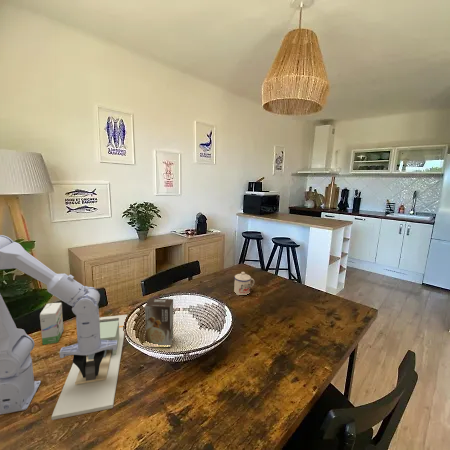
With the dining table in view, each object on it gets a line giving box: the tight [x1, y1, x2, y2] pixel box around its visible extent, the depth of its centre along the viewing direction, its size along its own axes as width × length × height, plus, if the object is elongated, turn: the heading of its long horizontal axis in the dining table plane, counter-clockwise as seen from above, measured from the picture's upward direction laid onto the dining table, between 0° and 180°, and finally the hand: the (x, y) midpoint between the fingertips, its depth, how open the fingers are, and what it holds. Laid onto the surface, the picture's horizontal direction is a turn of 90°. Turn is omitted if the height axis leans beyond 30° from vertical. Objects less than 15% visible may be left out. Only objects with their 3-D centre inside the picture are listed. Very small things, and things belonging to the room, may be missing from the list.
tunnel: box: [100, 320, 119, 355], centre depth 88 cm, size 10×11×8 cm
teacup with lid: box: [233, 271, 255, 296], centre depth 138 cm, size 12×9×12 cm
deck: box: [51, 314, 128, 421], centre depth 87 cm, size 46×14×1 cm, turn 16°
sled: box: [75, 339, 112, 385], centre depth 84 cm, size 24×8×5 cm, turn 16°
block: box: [88, 350, 107, 360], centre depth 84 cm, size 5×5×4 cm
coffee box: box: [144, 297, 174, 346], centre depth 93 cm, size 9×6×16 cm
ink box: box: [39, 302, 64, 345], centre depth 94 cm, size 8×5×12 cm, turn 19°
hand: (91, 374), depth 74 cm, fingers closed on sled, 2 cm apart
